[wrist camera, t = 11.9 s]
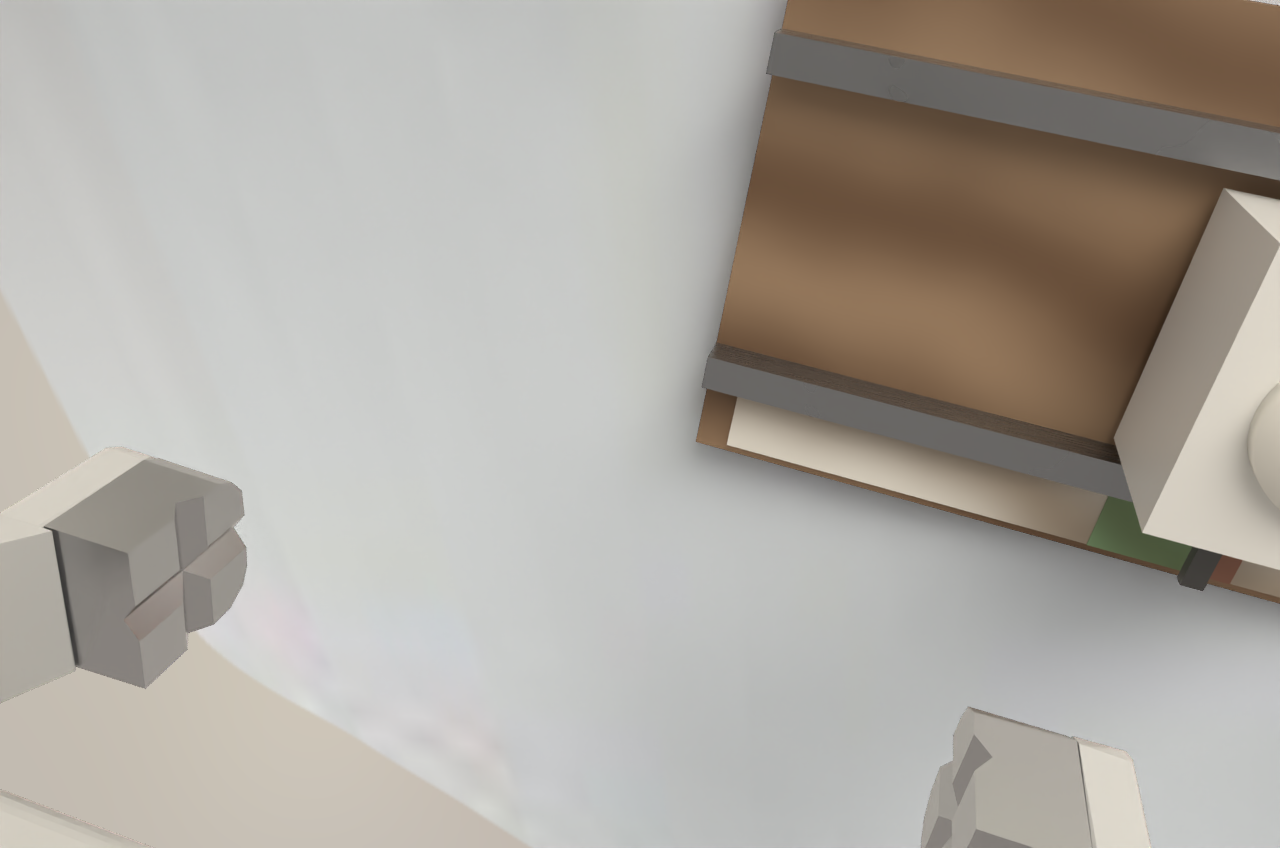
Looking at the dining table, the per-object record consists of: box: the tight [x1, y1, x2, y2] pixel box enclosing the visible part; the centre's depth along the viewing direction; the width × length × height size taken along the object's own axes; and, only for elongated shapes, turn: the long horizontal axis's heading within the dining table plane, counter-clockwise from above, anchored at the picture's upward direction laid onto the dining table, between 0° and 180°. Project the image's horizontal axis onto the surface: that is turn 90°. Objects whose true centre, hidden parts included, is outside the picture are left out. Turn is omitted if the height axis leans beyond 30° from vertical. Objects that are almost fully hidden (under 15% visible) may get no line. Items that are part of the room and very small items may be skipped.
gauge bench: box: [696, 0, 1280, 604], centre depth 27 cm, size 15×26×2 cm, turn 80°
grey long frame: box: [702, 28, 1280, 502], centre depth 23 cm, size 10×26×7 cm, turn 80°
